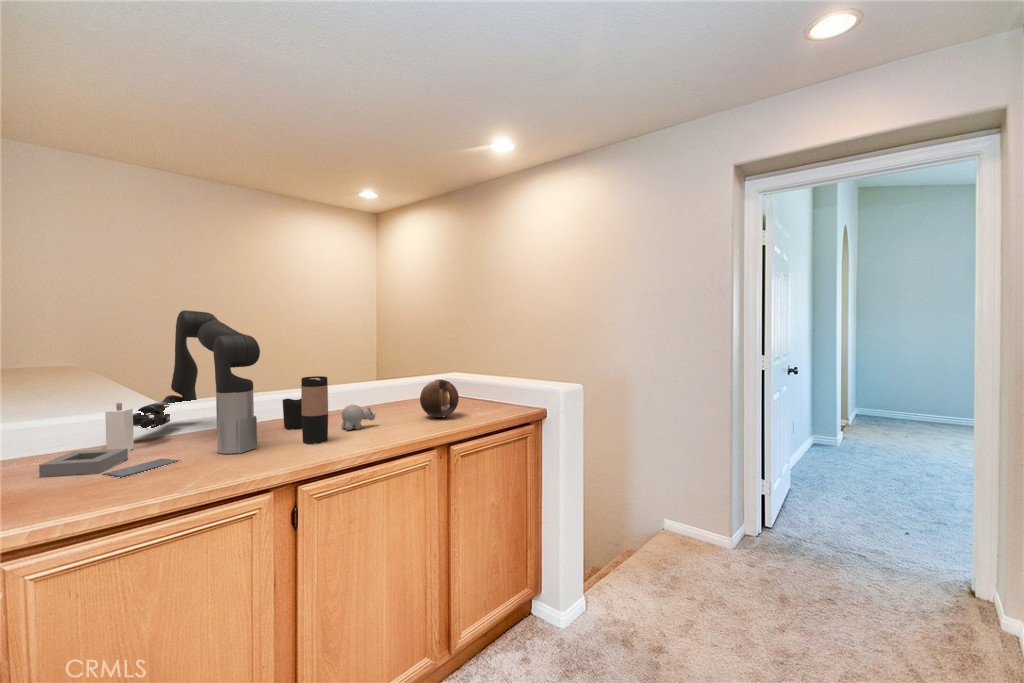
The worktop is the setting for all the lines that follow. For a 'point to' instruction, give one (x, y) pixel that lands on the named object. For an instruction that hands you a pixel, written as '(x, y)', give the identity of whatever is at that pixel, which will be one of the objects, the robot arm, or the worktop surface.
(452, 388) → the wooden sphere
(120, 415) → the white block with peg
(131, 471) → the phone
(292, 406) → the pen holder
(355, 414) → the toy rhinoceros
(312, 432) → the travel mug
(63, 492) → the worktop surface
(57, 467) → the block
